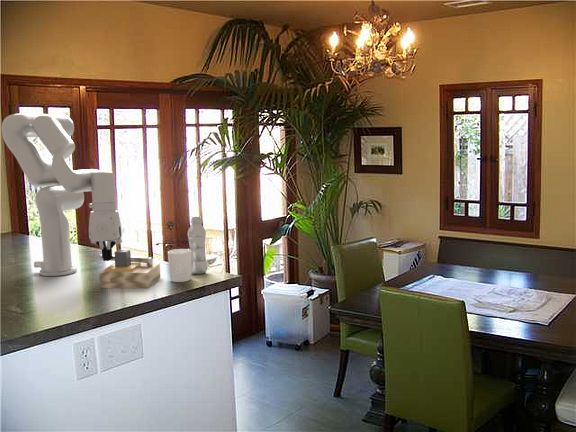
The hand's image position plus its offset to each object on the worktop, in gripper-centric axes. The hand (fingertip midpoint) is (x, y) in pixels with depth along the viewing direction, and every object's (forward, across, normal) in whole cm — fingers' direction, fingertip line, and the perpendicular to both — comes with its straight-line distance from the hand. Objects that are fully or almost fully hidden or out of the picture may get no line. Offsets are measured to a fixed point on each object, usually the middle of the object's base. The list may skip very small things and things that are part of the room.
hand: (107, 260), depth 212 cm
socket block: (+7, +10, -4) cm, 12 cm away
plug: (+5, +8, -5) cm, 10 cm away
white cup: (+7, +26, 0) cm, 26 cm away
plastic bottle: (+7, +29, +9) cm, 32 cm away
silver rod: (+1, +6, +1) cm, 7 cm away
